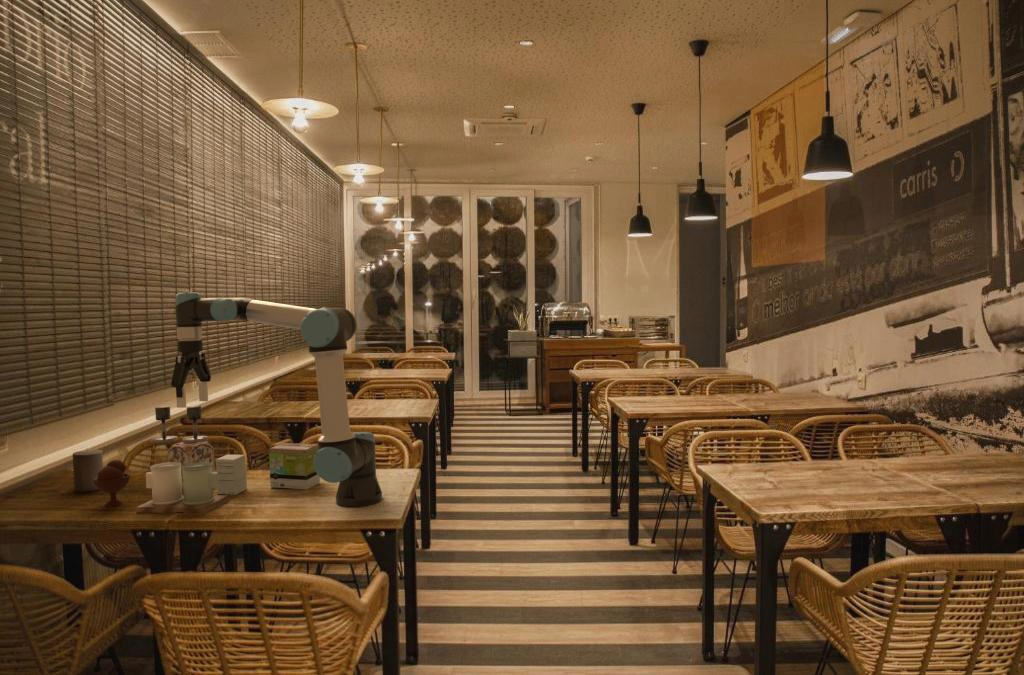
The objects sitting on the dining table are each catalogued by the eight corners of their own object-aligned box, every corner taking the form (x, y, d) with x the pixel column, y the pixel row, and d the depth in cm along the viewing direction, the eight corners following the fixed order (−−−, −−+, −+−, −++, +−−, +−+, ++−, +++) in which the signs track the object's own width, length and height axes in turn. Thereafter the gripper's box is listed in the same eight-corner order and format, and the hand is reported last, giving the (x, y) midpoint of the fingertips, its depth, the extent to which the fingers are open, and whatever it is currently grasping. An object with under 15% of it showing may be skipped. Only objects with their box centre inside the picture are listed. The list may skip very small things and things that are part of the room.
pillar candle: (72, 493, 263) (70, 452, 262) (76, 487, 272) (74, 447, 271) (103, 490, 267) (101, 449, 266) (105, 484, 276) (103, 444, 275)
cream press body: (189, 497, 247) (187, 462, 247) (173, 505, 238) (171, 468, 237) (157, 496, 249) (155, 462, 248) (139, 505, 239) (137, 468, 238)
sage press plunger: (177, 443, 237) (175, 408, 236) (190, 438, 245) (189, 405, 244) (200, 443, 236) (198, 408, 236) (213, 438, 244) (211, 404, 244)
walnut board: (228, 500, 248) (228, 495, 248) (206, 512, 234) (206, 507, 234) (162, 500, 251) (161, 495, 251) (136, 512, 237) (136, 507, 237)
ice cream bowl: (106, 500, 253) (104, 457, 252) (138, 499, 252) (135, 456, 252) (88, 509, 242) (85, 464, 241) (121, 508, 242) (118, 464, 241)
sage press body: (177, 505, 238) (175, 468, 237) (193, 497, 247) (191, 462, 246) (210, 505, 236) (208, 468, 236) (225, 497, 246) (223, 462, 245)
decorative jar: (194, 479, 279) (192, 433, 278) (216, 482, 274) (214, 435, 272) (167, 487, 268) (165, 439, 267) (190, 490, 263) (187, 441, 262)
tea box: (269, 488, 263) (267, 448, 262) (284, 481, 273) (282, 442, 272) (307, 490, 259) (305, 449, 258) (321, 482, 269) (319, 443, 268)
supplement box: (229, 488, 264) (227, 454, 263) (247, 489, 263) (246, 454, 262) (217, 494, 257) (215, 458, 256) (235, 494, 255) (234, 459, 255)
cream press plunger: (182, 438, 246) (180, 405, 245) (168, 443, 238) (166, 409, 237) (160, 438, 246) (158, 405, 246) (145, 443, 238) (143, 409, 238)
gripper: (199, 337, 252) (202, 398, 253) (156, 342, 227) (160, 410, 228) (219, 337, 251) (222, 398, 252) (179, 342, 226) (182, 410, 227)
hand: (192, 404), depth 240 cm, fingers open, 13 cm apart
